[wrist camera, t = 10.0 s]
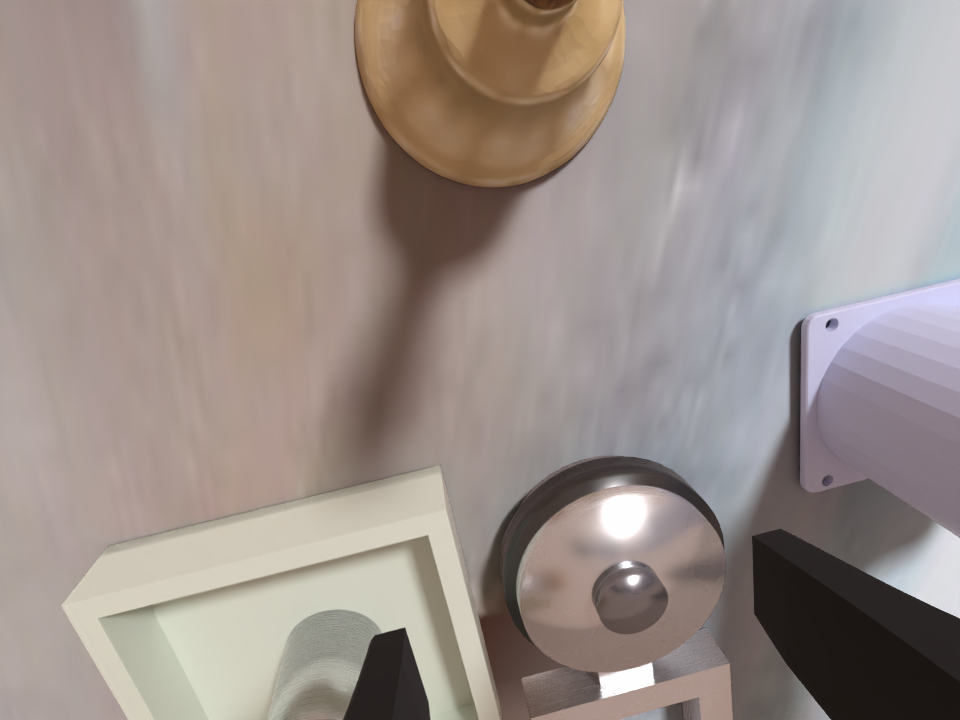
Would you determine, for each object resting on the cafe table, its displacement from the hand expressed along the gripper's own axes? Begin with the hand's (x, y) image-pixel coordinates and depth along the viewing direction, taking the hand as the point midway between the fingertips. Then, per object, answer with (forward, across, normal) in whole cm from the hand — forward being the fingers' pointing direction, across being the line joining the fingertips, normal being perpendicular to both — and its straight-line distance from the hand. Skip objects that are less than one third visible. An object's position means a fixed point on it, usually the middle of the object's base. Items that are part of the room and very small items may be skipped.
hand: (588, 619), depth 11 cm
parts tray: (+10, +9, +8) cm, 16 cm away
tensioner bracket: (+10, -3, +13) cm, 17 cm away
